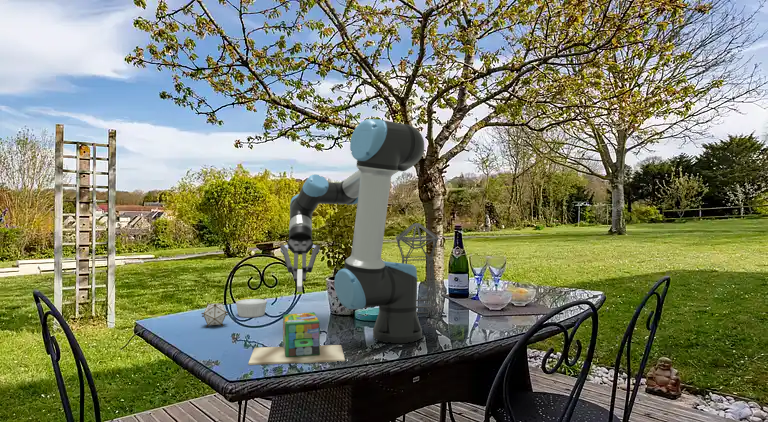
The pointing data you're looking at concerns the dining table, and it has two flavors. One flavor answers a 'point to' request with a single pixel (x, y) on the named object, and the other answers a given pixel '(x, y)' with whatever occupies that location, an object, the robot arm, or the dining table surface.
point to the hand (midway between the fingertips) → (299, 288)
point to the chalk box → (301, 334)
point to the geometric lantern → (421, 259)
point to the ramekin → (251, 307)
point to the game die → (214, 314)
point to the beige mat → (278, 357)
